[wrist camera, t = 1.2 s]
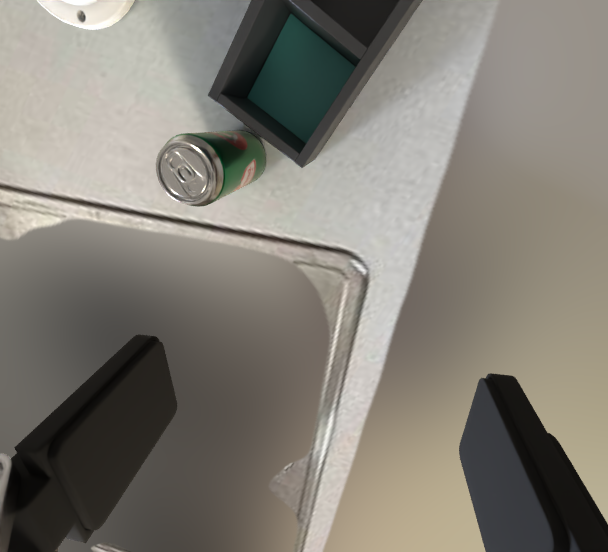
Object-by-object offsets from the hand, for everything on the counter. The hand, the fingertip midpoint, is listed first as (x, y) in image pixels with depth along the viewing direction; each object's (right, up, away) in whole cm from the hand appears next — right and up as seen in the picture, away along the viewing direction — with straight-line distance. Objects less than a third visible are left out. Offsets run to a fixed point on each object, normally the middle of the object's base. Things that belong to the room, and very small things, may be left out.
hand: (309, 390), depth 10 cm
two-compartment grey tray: (+2, +24, +18) cm, 30 cm away
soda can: (-6, +16, +24) cm, 29 cm away
